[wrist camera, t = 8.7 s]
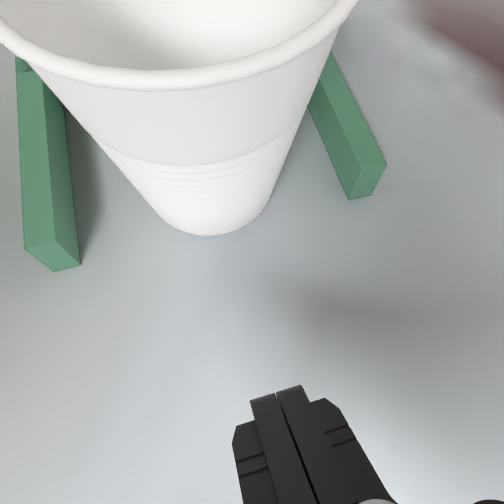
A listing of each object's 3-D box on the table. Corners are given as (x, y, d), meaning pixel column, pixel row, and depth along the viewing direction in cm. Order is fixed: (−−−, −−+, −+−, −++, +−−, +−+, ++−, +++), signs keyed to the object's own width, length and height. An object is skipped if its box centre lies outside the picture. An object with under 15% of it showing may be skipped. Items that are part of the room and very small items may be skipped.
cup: (220, 80, 23) (196, -199, 12) (351, 188, 20) (459, -61, 10) (71, 179, 20) (-114, -77, 10) (198, 322, 17) (122, 169, 7)
